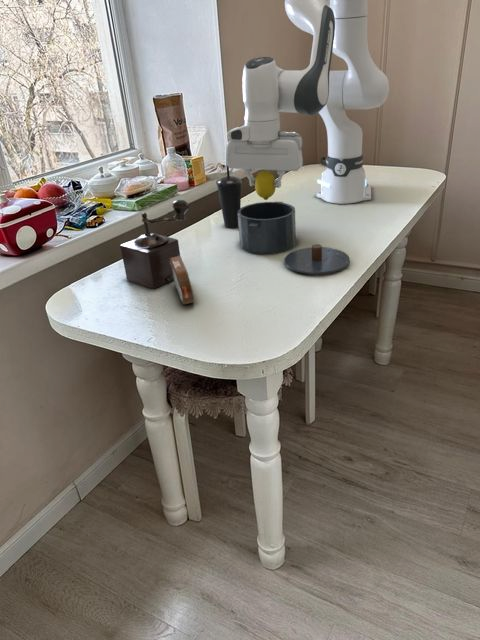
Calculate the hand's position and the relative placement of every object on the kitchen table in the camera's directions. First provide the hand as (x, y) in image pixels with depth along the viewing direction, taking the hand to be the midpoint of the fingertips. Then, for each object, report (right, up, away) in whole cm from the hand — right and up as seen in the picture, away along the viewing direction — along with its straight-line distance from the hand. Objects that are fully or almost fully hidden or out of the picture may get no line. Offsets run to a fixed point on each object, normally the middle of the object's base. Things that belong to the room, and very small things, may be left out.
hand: (265, 186), depth 142 cm
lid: (+13, -21, -5) cm, 25 cm away
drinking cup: (-10, -5, +23) cm, 26 cm away
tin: (-19, -31, -17) cm, 40 cm away
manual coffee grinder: (-26, -24, -6) cm, 36 cm away
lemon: (0, -3, +2) cm, 4 cm away
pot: (+1, -14, +9) cm, 16 cm away
